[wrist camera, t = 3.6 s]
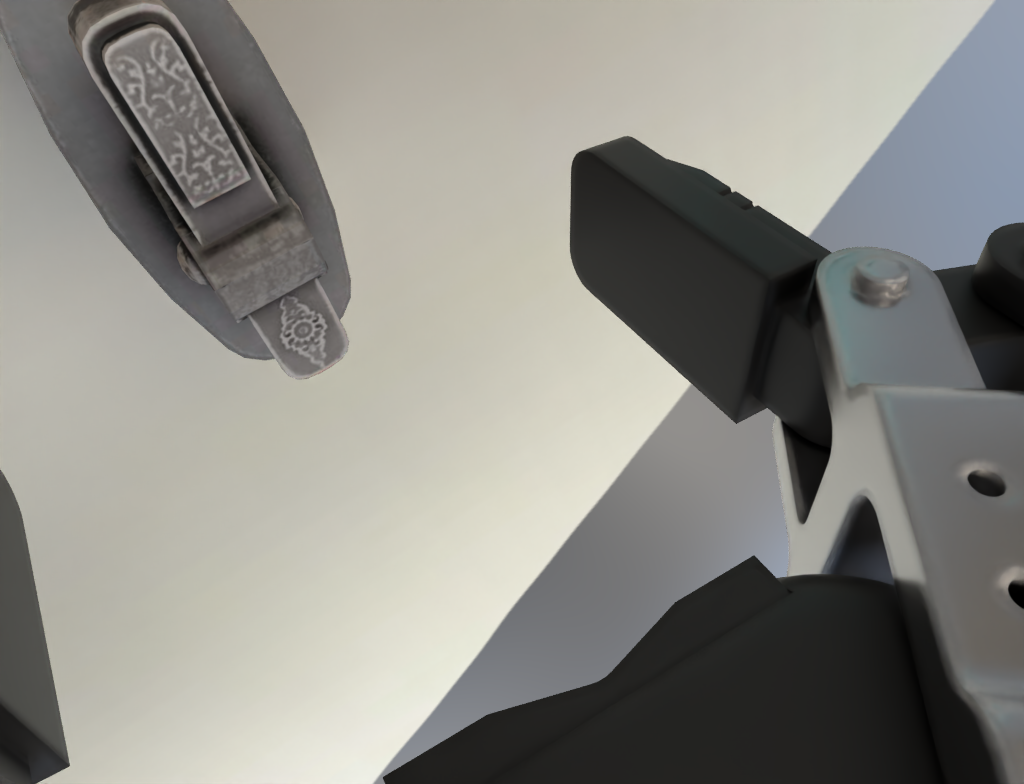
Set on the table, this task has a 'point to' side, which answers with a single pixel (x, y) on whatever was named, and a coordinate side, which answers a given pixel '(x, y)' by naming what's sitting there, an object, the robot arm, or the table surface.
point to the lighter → (193, 165)
